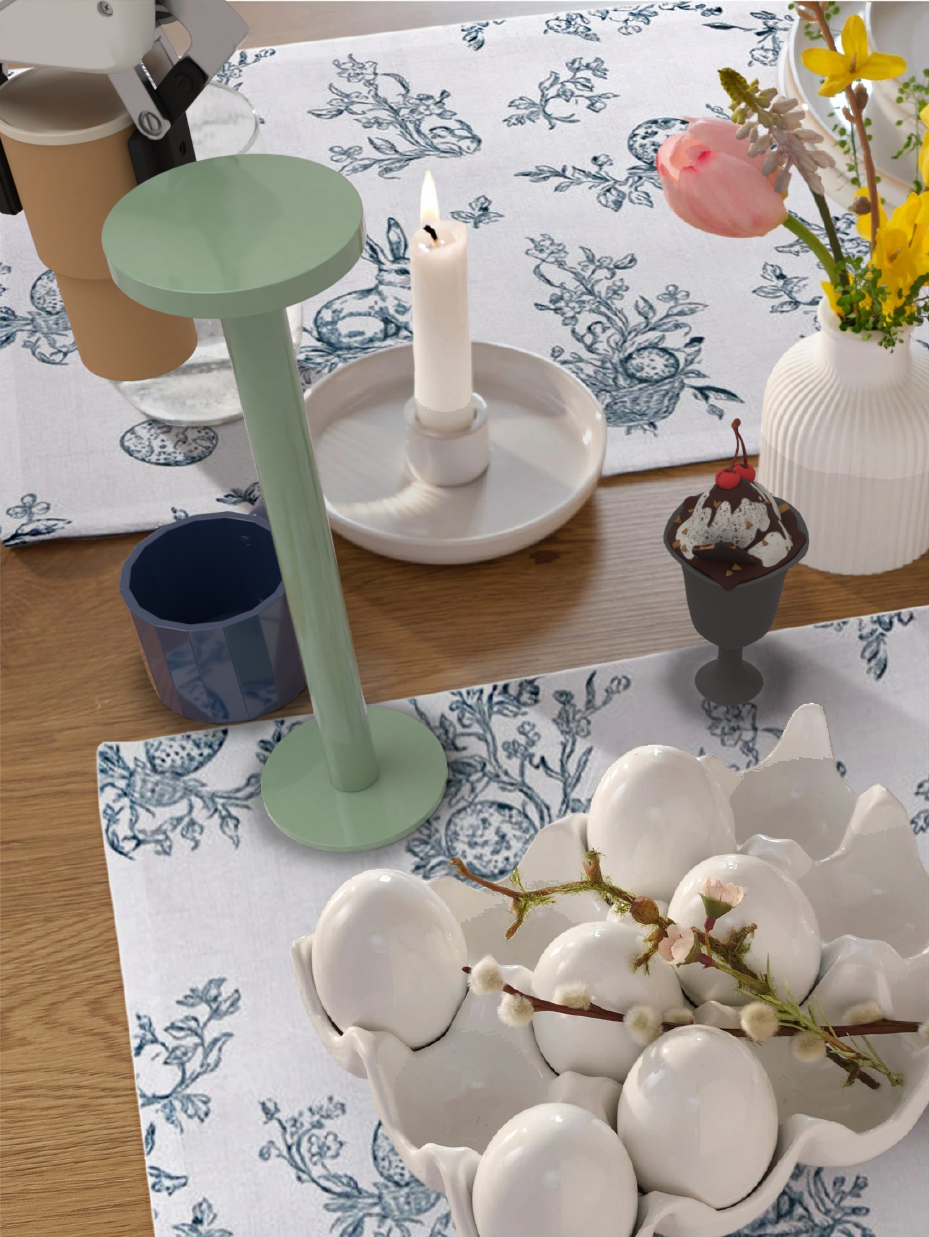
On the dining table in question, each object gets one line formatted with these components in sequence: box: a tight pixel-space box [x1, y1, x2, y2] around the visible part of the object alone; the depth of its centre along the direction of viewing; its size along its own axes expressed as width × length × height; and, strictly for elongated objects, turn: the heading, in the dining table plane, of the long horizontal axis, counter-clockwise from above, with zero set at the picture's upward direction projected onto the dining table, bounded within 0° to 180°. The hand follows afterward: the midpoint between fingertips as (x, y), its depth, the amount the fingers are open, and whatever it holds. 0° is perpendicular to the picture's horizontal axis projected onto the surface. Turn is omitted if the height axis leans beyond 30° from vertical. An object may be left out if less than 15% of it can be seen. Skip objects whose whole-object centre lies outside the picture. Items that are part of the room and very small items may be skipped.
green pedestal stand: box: [101, 153, 449, 854], centre depth 67 cm, size 9×9×30 cm
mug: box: [118, 493, 308, 725], centre depth 83 cm, size 12×9×7 cm
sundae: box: [662, 417, 810, 707], centre depth 77 cm, size 7×7×15 cm
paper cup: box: [0, 67, 199, 382], centre depth 65 cm, size 6×6×11 cm
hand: (99, 203), depth 64 cm, fingers closed on paper cup, 5 cm apart
